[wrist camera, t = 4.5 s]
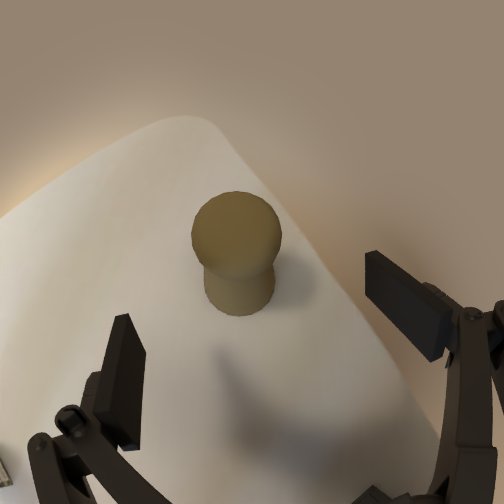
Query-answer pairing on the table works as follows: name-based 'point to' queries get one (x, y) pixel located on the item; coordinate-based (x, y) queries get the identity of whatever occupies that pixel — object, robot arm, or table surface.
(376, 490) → the dark gray square tray
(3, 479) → the syrup box
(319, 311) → the table surface
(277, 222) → the cork
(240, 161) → the table surface
